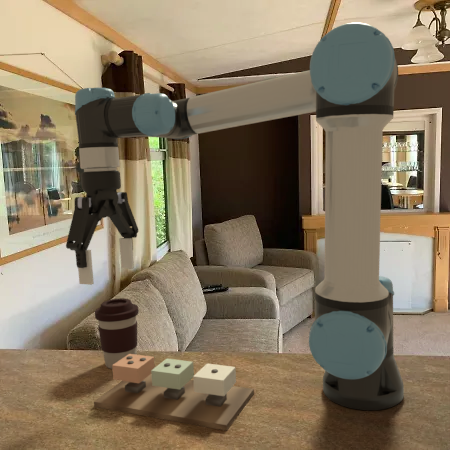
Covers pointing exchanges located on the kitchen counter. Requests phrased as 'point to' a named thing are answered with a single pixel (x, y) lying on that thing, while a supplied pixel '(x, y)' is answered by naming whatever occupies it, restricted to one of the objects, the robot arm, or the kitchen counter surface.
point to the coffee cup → (117, 329)
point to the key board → (176, 403)
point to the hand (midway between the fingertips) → (108, 275)
